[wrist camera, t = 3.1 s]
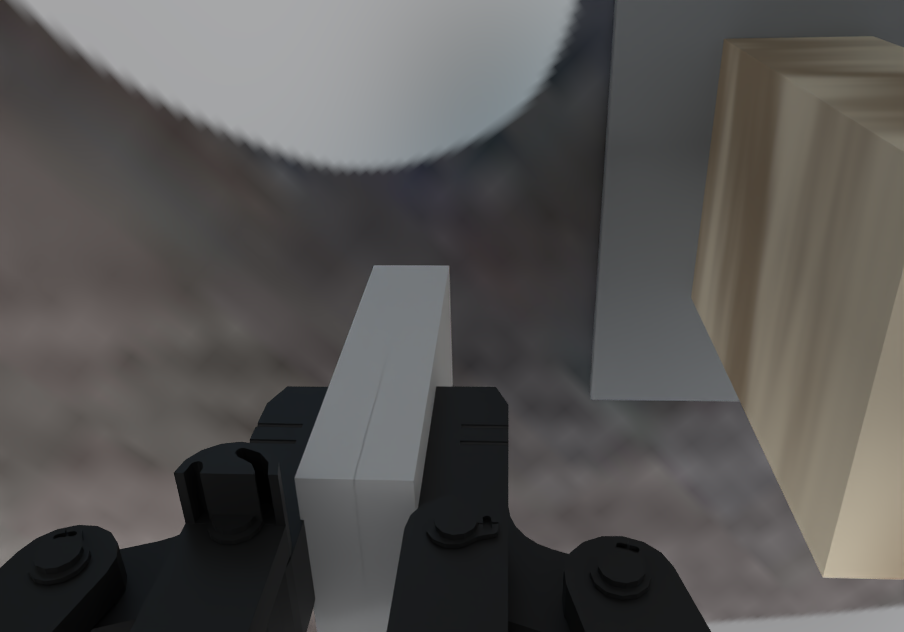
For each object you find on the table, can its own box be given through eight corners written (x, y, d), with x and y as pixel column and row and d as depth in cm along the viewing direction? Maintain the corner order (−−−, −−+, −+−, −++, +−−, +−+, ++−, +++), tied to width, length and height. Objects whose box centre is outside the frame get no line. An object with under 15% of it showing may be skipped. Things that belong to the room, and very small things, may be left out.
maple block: (691, 297, 26) (822, 577, 15) (724, 38, 22) (929, 168, 11) (818, 297, 25) (1042, 582, 15) (873, 36, 22) (1225, 166, 11)
